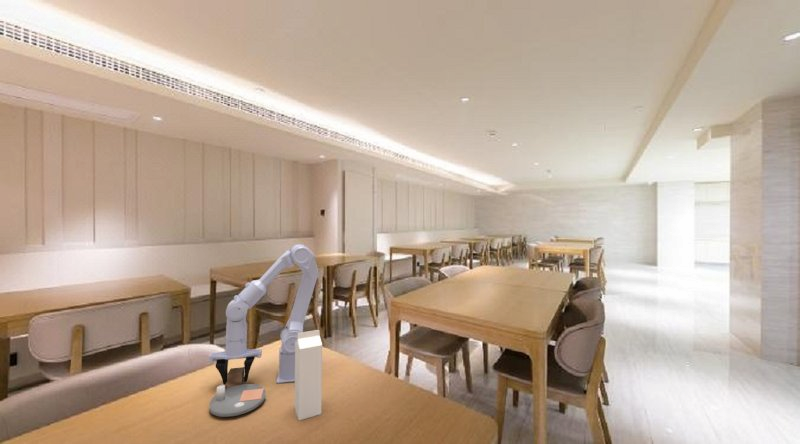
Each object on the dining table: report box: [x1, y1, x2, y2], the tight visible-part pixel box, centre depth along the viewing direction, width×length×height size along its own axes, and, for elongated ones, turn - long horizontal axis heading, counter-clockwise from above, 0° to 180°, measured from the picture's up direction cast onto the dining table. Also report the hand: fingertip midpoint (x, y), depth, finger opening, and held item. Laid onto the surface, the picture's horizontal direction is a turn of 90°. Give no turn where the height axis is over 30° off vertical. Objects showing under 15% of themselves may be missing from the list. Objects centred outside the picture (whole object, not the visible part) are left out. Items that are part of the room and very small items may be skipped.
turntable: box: [208, 383, 266, 418], centre depth 88 cm, size 14×14×5 cm
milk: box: [293, 329, 323, 421], centre depth 85 cm, size 6×6×22 cm
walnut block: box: [226, 366, 245, 389], centre depth 97 cm, size 4×4×5 cm
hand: (235, 381), depth 97 cm, fingers open, 5 cm apart
